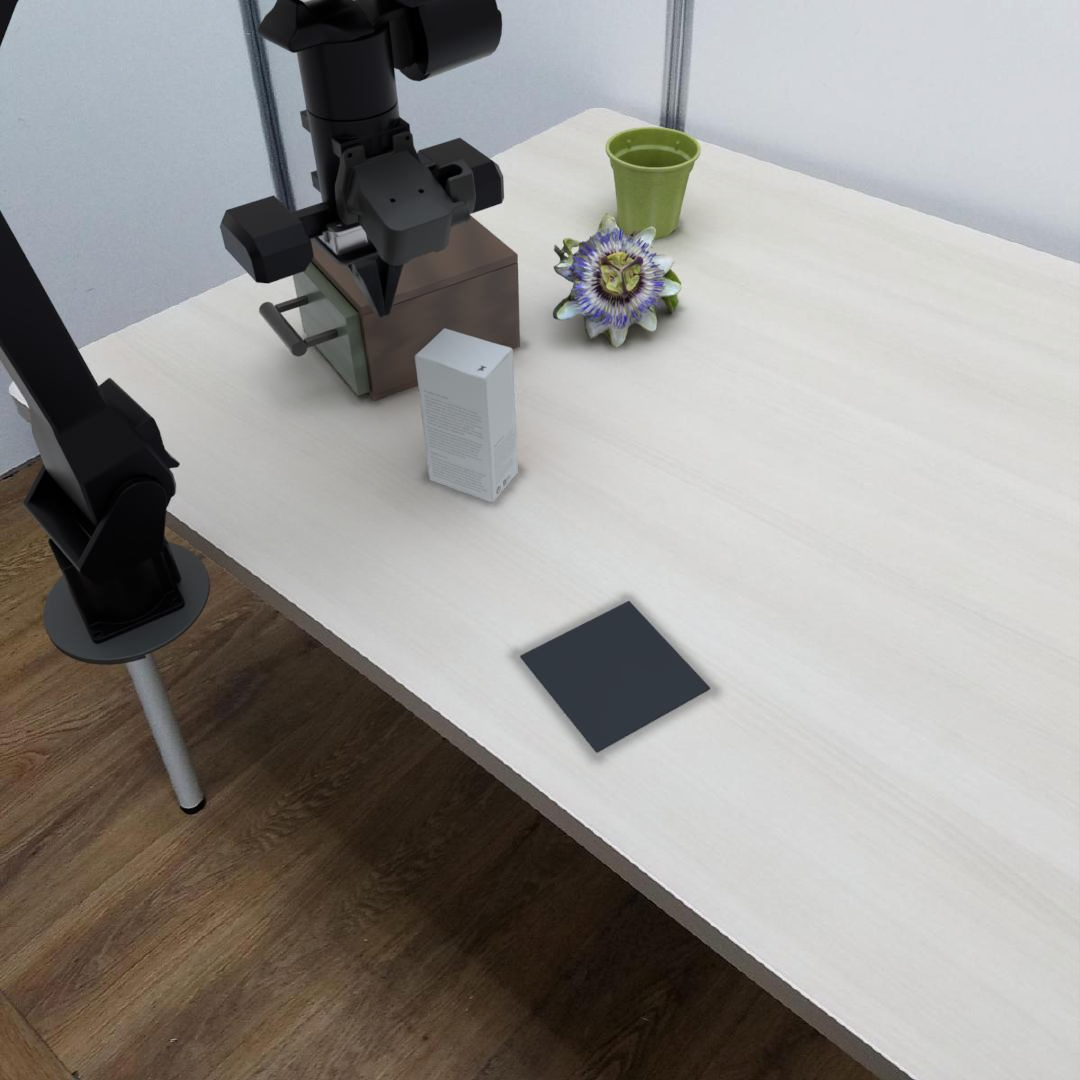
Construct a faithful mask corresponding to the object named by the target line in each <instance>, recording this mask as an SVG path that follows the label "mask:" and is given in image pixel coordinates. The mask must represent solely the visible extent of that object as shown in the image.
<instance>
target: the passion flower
mask: <svg viewBox="0 0 1080 1080" xmlns="http://www.w3.org/2000/svg"><path fill="white" fill-rule="evenodd" d="M623 235H624V231H623V230H621V229H620V227H619V225H618V224H617V222H616V219H615V217H614V216H612V215H610V214H608V212H607V213H605V214H604V216H603V217H602V218H601V220H600V222H599V225H598V228H597V231H596V232H595V234H592V235H590V236H589V238H588V240H586V241H584V240H583V241H579V240H578V239H574V238H572V237H566V238H564V239H563V240H562V245H563V246H562V248H561V249H560V247H559V246H558V245H557V244H554V245H553V246H554V247H553V251H554V253H555V254H556V255H557V256H558V258H559V262H558V263H557V264H555V265H553V271H554V272H555V273H556V274H557V275H559V276H560V277H562V278H564V279H565V280H566V281H568V282H570V283H573V284H572V288H570V292H569V294H568V295H567V297H565V298H562V299H561V301H560V302H559V303H558V304H557V305H556V306H555V307H554V308H553V311H552V317H553V319H554V320H557V321H565V320H569V319H572V318H574V317H576V316H577V315H581V316H583V321H584V323H583V324H584V329H585V333H586V335H587V336H586V337H587V338H588V340H590V341H592V340H593V339H595V338H597V337H598V336H599V335H600V334H604V335H605V336H606V337H607V339H608V342H609V343H610V345H611V346H612V347H613V348H619V347H621V346H622V345H623V344H624V342H625V340H626V338H627V335H628V331H629V328H630V326H632V325H634V324H636V325H638V326H639V327H640V328H641V329H642V330H644V331H645V332H646V331H647V332H649V333H654V332H655V331H656V330H657V326H658V317H657V313H656V308H659V309H661V308H662V307H661V306H659V305H660V302H658V301H659V299H661V300H662V301H663V302H664V304H665V306H666V307H667V309H668V311H669V312H670V313H671V314H672V313H674V311H675V310H676V309H677V307H678V305H679V301H680V300H679V298H678V294H680V292H681V291H682V288H683V287H682V282H681V280H680V278H679V277H678V275H677V274H676V272H675V271H673V269H671V268H672V267H673V266H674V264H675V259H674V258H673V257H672V256H670V255H666V254H657V252H654V253H653V252H650V251H649V250H650V247H651V249H653V246H652V244H653V243H654V242H653V241H654V240H655V239H654V238H655V235H656V230H655V228H654V227H648V228H646V229H643V230H641V231H639V232H637V231H634V232H632V233H630V234H629V235H625V237H624V238H623ZM631 236H632V237H631ZM577 247H578V250H577V251H576V252H574V253H573V252H572V249H573V248H577ZM565 254H566V255H567V256H566V255H565Z"/></svg>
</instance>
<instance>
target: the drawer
mask: <svg viewBox="0 0 1080 1080" xmlns="http://www.w3.org/2000/svg"><path fill="white" fill-rule="evenodd" d="M292 279H293V284H294V289H295V295H296V297H294V298H292V299H289V300H286V301H282V302H280V303H279V302H278V303H276V304H274V303H273V302H270V301H265V302H263V303H262V304H261V305H260V306H259V308H258V313H259V315H260V316H261V317H262V318H263V320H264V321H265V322H266V324H267V325H268V326H269V327H270V328H271V329H272V331H273V332H274V333H275V334H276V336H277V337H278V338H279V340H281V342H282V343H283V344H284V346H285V347H286V348H287V349H288V351H290V353H291V354H292V355H293V356H294V357H298V358H299V357H302V356H304V355H305V354H306V353H307V352H308V349H309V348H312V347H316V348H317V349H318V351H320V353H321V354H322V355H323V356H324V358H325V359H326V360H327V361H328V362H329V363H330V364H331V366H332V367H333V368H334V369H335V371H336V372H337V373H338V374H339V375H340V377H342V379H343V380H344V381H345V382H346V384H348V386H349V387H350V388H351V390H353V392H354V393H355V394H356V395H357V396H358V397H359V396H362V395H365V394H368V393H367V392H370V391H371V390H370V384H369V377H368V370H367V364H366V357H365V350H364V344H363V337H362V330H361V324H360V317H359V311H358V310H357V309H356V308H355V307H354V306H353V305H352V304H351V303H350V301H349V300H348V299H347V298H346V297H345V296H344V295H343V294H342V293H341V292H340V291H339V290H338V289H337V288H336V286H335V285H334V284H333V283H332V282H331V281H330V280H329V279H328V278H327V277H326V276H325V275H324V274H322V273H321V272H320V271H319V270H318V269H317V268H316V267H315V266H314V265H313V264H312V263H311V262H310V264H309V265H308V267H307V269H306V270H305V271H304V272H301V273H298V274H295V275H292ZM294 309H298V310H299V314H300V319H301V325H302V331H303V333H304V334H305V335H306V336H307V337H305V338H302V336H301V335H300V334H299V333H298V332H297V330H296V329H295V328H294V327H293V326H292V325H291V324H290V322H289V321H288V320H287V319H286V317H284V315H283V314H282V313H285V312H288V311H291V310H294Z"/></svg>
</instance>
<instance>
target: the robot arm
mask: <svg viewBox="0 0 1080 1080" xmlns="http://www.w3.org/2000/svg"><path fill="white" fill-rule="evenodd" d="M19 1H20V0H0V48H1V47H2V44H3V41H4V39H5V36H6V34H7V31H8V28H9V26H10V23H11V20H12V17H13V15H14V12H15V9H16V7H17V5H18V2H19ZM498 7H499V6H498V3H497V0H306V1H303V0H276V2H275V3H274V5H273V7H272V8H271V10H270V11H269V12H268V13H266V14H265V16H264V17H263V19H262V21H260V23H259V25H258V26H257V34H258V36H259V37H260V38H262V39H264V40H266V41H269V42H270V43H273V44H275V45H276V46H278V47H280V48H282V49H283V50H285V51H288V52H290V53H292V54H296V57H297V62H298V69H299V74H300V80H301V86H302V91H303V97H304V103H305V109H303V110H300V111H299V115H300V120H301V126H302V128H303V129H304V130H306V131H307V132H308V133H309V134H310V138H311V139H310V140H311V144H312V145H311V146H312V150H313V157H314V161H315V162H314V163H315V167H316V169H315V170H313V171H310V177H311V182H312V187H313V188H314V189H316V191H318V192H319V193H320V196H321V202H318V203H316V204H313V205H310V206H307V207H303V208H300V209H297V210H293V211H291V210H290V209H289V208H288V207H287V206H286V205H285V204H284V203H282V202H281V201H280V199H278V197H276V196H275V195H270V196H267V197H264V198H261V199H257V200H254V201H251V202H247V203H244V204H241V205H238V206H234V207H230V208H228V209H225V212H224V214H223V216H222V218H221V222H220V224H219V229H220V234H221V237H222V241H223V245H224V248H225V250H226V251H227V252H228V253H229V255H231V257H232V258H233V259H234V260H235V261H236V262H237V263H238V264H239V265H240V267H242V269H243V270H244V271H245V272H246V273H247V274H248V275H249V277H251V278H252V280H253V281H254V282H255V283H257V284H267V285H269V284H271V283H274V282H277V281H280V280H283V279H286V278H288V277H293V275H295V274H298V273H301V272H304V271H305V270H306V269H307V267H308V265H309V264H310V262H311V261H312V259H313V257H314V254H313V248H312V243H311V240H310V239H312V240H313V241H314V242H315V243H316V244H317V245H318V246H319V247H320V248H321V249H322V250H323V251H324V252H325V253H326V254H327V255H328V256H329V257H330V258H331V259H332V260H333V261H334V262H335V263H337V264H339V265H343V266H346V267H347V269H348V271H349V272H350V274H351V276H352V277H353V279H354V281H355V282H356V284H357V286H358V287H359V289H360V290H361V292H362V294H363V295H364V297H365V299H366V300H367V302H368V304H369V305H370V307H371V309H372V310H373V312H374V313H375V314H376V315H377V316H378V317H379V318H382V317H384V316H387V315H389V314H390V312H391V308H392V305H393V301H394V297H395V294H396V290H397V286H398V283H399V279H400V276H401V272H402V269H403V266H404V264H405V263H408V262H409V261H410V260H411V259H414V258H416V257H419V256H422V255H425V254H428V253H430V252H439V251H442V250H444V249H445V248H446V247H447V246H448V244H449V240H450V233H451V227H454V226H457V225H460V224H463V223H466V222H469V221H470V215H472V214H476V213H478V212H481V211H484V210H486V209H489V208H490V209H491V208H493V207H496V206H498V205H502V204H503V202H504V199H505V183H504V181H505V180H504V174H503V172H502V169H501V167H500V165H499V164H497V163H496V162H495V161H494V160H493V159H491V158H490V157H489V156H487V155H485V153H482V152H481V151H480V150H479V149H477V148H476V147H474V146H473V145H471V144H470V143H468V142H467V141H466V140H464V139H463V138H461V137H457V138H454V139H451V140H447V141H444V142H441V143H438V144H434V145H431V146H427V147H425V148H422V149H419V150H418V151H417V150H416V148H415V145H414V144H415V143H414V135H413V133H412V132H411V126H410V125H411V124H410V123H409V122H408V121H406V120H405V119H403V117H401V116H400V108H399V100H398V90H397V89H398V88H397V80H396V71H395V70H398V71H399V72H400V73H401V74H402V75H403V76H405V77H406V78H408V79H409V80H411V81H413V82H422V81H424V80H428V79H429V78H433V77H436V76H438V75H441V74H444V73H446V72H450V71H452V70H455V69H457V68H460V67H462V66H465V65H468V64H471V63H473V62H476V61H479V60H482V59H484V58H487V57H489V56H492V54H494V53H495V52H496V51H497V49H498V47H499V45H500V42H501V39H502V35H503V15H502V12H501V10H500V9H499V8H498ZM0 362H1V364H2V365H3V367H4V369H5V370H6V372H7V373H8V375H9V377H10V378H11V380H12V382H13V383H14V384H15V386H16V388H17V389H18V391H19V392H20V394H21V396H22V397H23V399H24V400H25V402H26V403H27V406H28V409H29V416H30V424H31V426H30V427H31V434H32V437H33V439H34V442H35V445H36V447H37V449H38V450H37V451H38V452H39V455H40V457H41V460H42V465H41V467H40V469H39V471H38V473H37V475H36V477H35V479H34V481H33V483H32V485H31V486H30V488H29V490H28V492H27V494H26V495H25V498H24V500H23V502H22V506H23V507H24V509H25V510H26V511H27V512H28V513H29V515H31V517H32V518H33V519H34V521H36V523H37V524H38V525H39V526H40V527H41V528H42V530H43V531H44V532H45V533H46V535H48V537H49V538H48V540H47V542H48V545H49V547H50V549H51V551H52V553H53V556H54V558H55V560H56V563H57V565H58V567H59V569H60V571H61V573H62V575H63V576H64V578H65V580H66V582H67V584H68V588H69V590H70V592H71V595H72V597H73V599H74V601H75V604H76V606H77V608H78V610H79V613H80V615H81V617H82V619H83V622H84V624H85V626H86V628H87V631H88V633H89V635H90V637H91V640H92V641H93V643H95V644H100V643H103V642H105V641H108V640H110V639H112V638H115V637H117V636H119V635H122V634H124V633H126V632H129V631H131V630H134V629H136V628H138V627H141V626H143V625H145V624H148V623H150V622H152V621H155V620H157V619H159V618H162V617H164V616H166V615H169V614H171V613H173V612H176V611H178V610H180V609H182V608H183V607H184V606H185V601H184V598H183V596H182V594H181V593H180V591H179V589H178V587H177V585H176V584H179V583H180V582H181V580H182V579H181V576H180V573H179V571H178V568H177V565H176V562H175V560H174V557H173V554H172V551H171V549H170V546H169V543H168V542H169V541H168V539H167V537H166V536H165V533H166V522H167V511H168V510H167V509H168V507H169V505H170V502H171V500H172V498H173V497H174V496H175V495H176V494H177V482H176V479H175V476H174V472H172V470H171V469H177V468H179V467H180V465H181V463H180V462H179V461H178V460H177V459H176V458H175V457H174V456H173V455H172V454H171V453H170V452H169V451H168V450H166V446H165V443H164V441H163V437H162V433H161V430H160V428H159V426H158V424H157V422H156V420H155V418H154V417H153V416H152V415H151V414H150V413H149V412H147V410H146V409H144V408H143V407H142V405H140V404H139V403H138V402H137V401H136V400H135V399H134V398H132V396H131V395H130V394H128V393H127V392H126V391H125V390H124V389H123V388H122V387H121V385H119V384H118V383H117V382H116V381H114V379H112V378H111V377H108V378H107V379H105V380H104V381H103V382H102V383H100V384H98V382H97V380H96V379H95V377H94V375H93V373H92V371H91V370H90V368H89V366H88V363H86V361H85V359H84V357H83V355H82V353H81V352H80V350H79V348H78V345H76V343H75V340H74V339H73V337H72V336H71V333H70V332H69V330H68V329H67V326H66V324H65V323H64V321H63V320H62V317H61V316H60V314H59V313H58V311H57V309H56V307H55V306H54V304H53V302H52V300H51V298H50V296H49V294H48V293H47V291H46V289H45V288H44V286H43V284H42V282H41V280H40V279H39V277H38V275H37V273H36V271H35V270H34V267H33V266H32V264H31V262H30V260H29V259H28V257H27V255H26V253H25V252H24V250H23V248H22V245H20V243H19V241H18V239H17V238H16V235H15V233H14V231H13V230H12V228H11V226H10V225H9V223H8V221H7V219H6V217H5V216H4V214H3V212H2V210H1V209H0ZM177 602H179V603H178V604H175V603H177ZM99 635H101V636H100V637H97V636H99Z"/></svg>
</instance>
